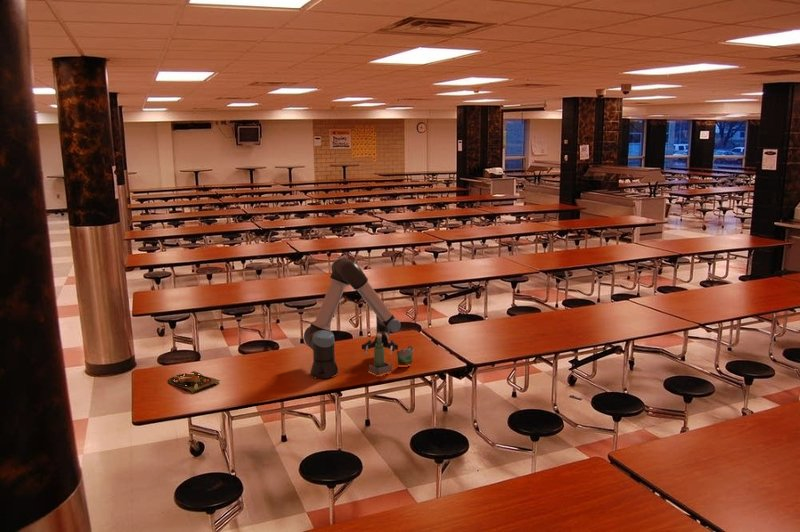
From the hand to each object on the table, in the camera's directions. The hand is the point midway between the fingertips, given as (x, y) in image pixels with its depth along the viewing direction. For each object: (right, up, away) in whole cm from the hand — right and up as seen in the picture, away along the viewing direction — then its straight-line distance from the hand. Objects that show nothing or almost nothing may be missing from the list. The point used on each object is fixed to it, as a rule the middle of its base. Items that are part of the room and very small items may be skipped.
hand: (378, 351), depth 335 cm
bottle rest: (0, -12, +6) cm, 14 cm away
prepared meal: (-99, -16, -7) cm, 100 cm away
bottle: (0, -12, +6) cm, 13 cm away
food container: (+16, -10, +16) cm, 25 cm away
